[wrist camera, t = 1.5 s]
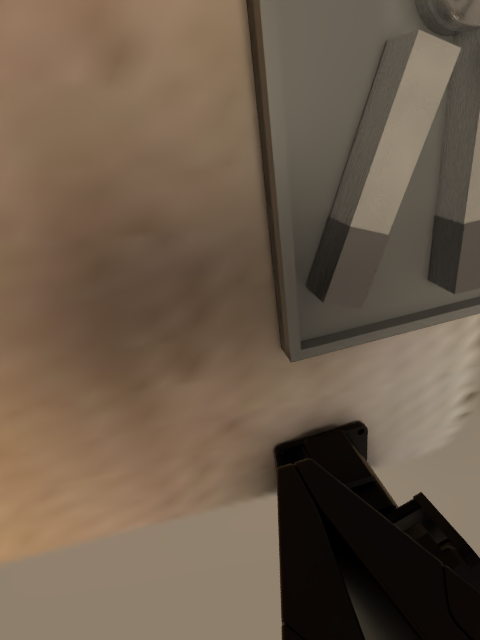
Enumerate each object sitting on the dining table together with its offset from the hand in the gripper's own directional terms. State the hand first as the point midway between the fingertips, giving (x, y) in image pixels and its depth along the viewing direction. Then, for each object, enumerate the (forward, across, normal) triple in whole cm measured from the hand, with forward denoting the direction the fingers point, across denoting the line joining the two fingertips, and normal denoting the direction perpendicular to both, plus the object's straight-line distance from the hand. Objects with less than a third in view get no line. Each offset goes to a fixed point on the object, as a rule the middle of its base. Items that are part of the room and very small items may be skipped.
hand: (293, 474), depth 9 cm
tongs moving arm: (+11, -8, -4) cm, 14 cm away
